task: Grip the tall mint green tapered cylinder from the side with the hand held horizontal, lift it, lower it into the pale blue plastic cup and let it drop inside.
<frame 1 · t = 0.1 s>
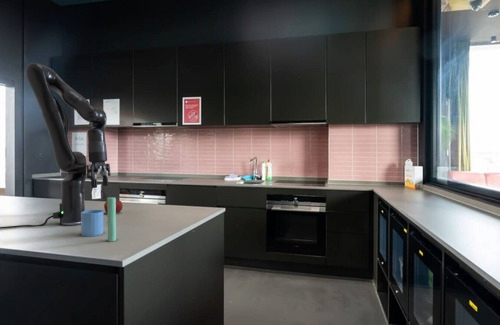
hand: (100, 186, 141), 17 cm above the countertop, tool pointing down, fingers open, 8 cm apart
cup: (92, 233, 125), on the countertop
tomato: (113, 213, 168), on the countertop
mint green tapered cylinder: (111, 240, 116), on the countertop
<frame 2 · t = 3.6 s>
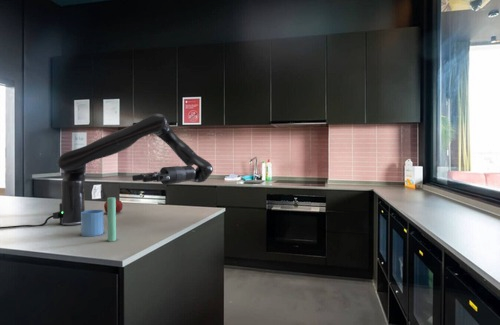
hand: (137, 178, 123), 22 cm above the countertop, tool horizontal, fingers open, 8 cm apart
nothing on the countertop moved.
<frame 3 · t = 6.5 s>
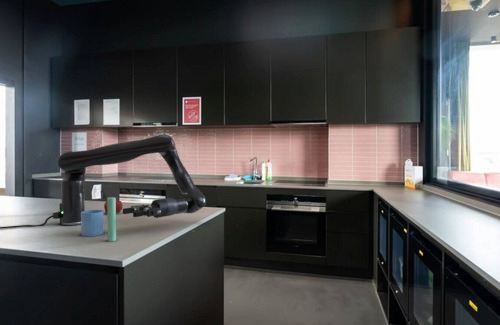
hand: (128, 212, 120), 9 cm above the countertop, tool horizontal, fingers open, 8 cm apart
nothing on the countertop moved.
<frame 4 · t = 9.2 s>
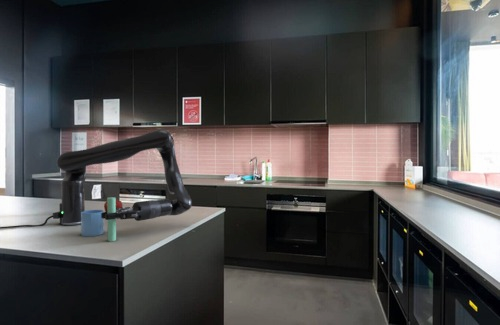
hand: (103, 216, 113), 9 cm above the countertop, tool horizontal, fingers closed on mint green tapered cylinder, 2 cm apart
mint green tapered cylinder: (111, 240, 116), on the countertop, touching gripper
everything else where it was.
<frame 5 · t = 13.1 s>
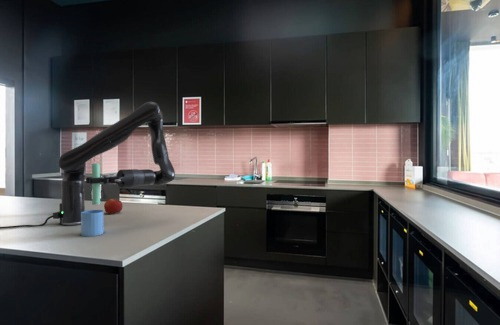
hand: (88, 180, 120), 22 cm above the countertop, tool horizontal, fingers closed on mint green tapered cylinder, 2 cm apart
mint green tapered cylinder: (96, 204, 122), point 12 cm above the countertop, touching gripper
everything else where it was.
when the fingers open (11 cm above the countertop, at t = 17.0 s): mint green tapered cylinder stays where it is, resting on cup.
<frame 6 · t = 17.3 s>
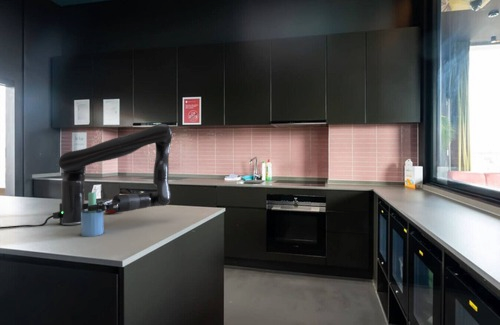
hand: (85, 207, 123), 11 cm above the countertop, tool horizontal, fingers open, 5 cm apart
cup: (92, 233, 125), on the countertop, touching mint green tapered cylinder
mint green tapered cylinder: (92, 232, 125), point 1 cm above the countertop, touching cup
everything else where it was.
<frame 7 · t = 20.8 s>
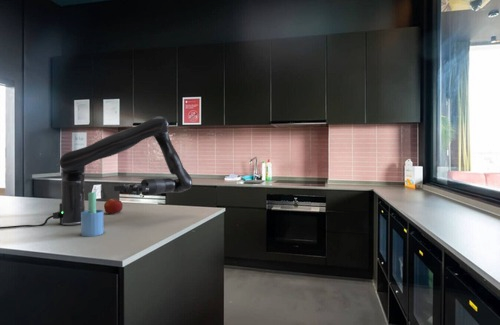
hand: (118, 189, 132), 17 cm above the countertop, tool horizontal, fingers open, 8 cm apart
nothing on the countertop moved.
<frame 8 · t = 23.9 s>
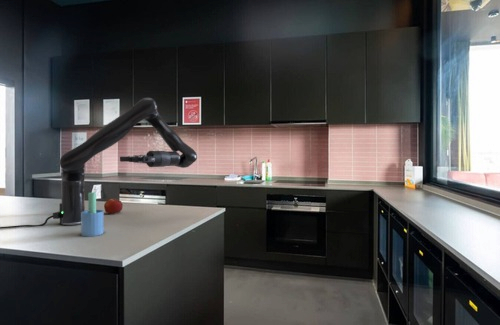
hand: (124, 159, 133), 30 cm above the countertop, tool horizontal, fingers open, 8 cm apart
nothing on the countertop moved.
at the end: mint green tapered cylinder inside the target area in the cup (0.1 cm from its centre), point 0.6 cm above the cup's base; mint green tapered cylinder tilted 0°; the gripper is holding nothing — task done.
